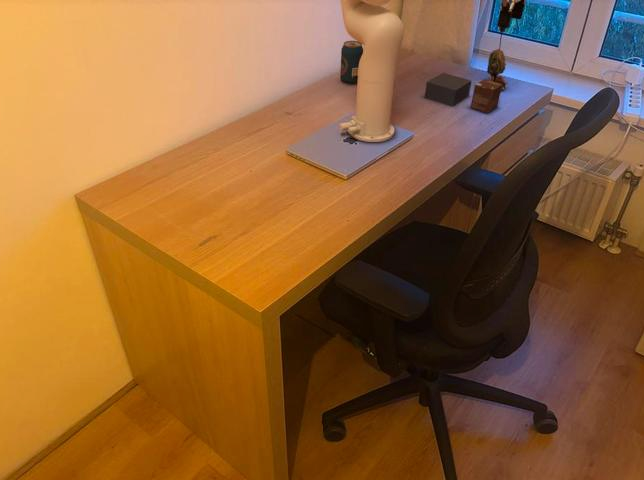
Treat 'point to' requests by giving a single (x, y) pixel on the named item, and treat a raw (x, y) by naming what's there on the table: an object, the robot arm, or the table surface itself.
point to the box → (486, 96)
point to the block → (447, 89)
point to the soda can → (350, 62)
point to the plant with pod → (497, 64)
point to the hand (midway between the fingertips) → (509, 22)
